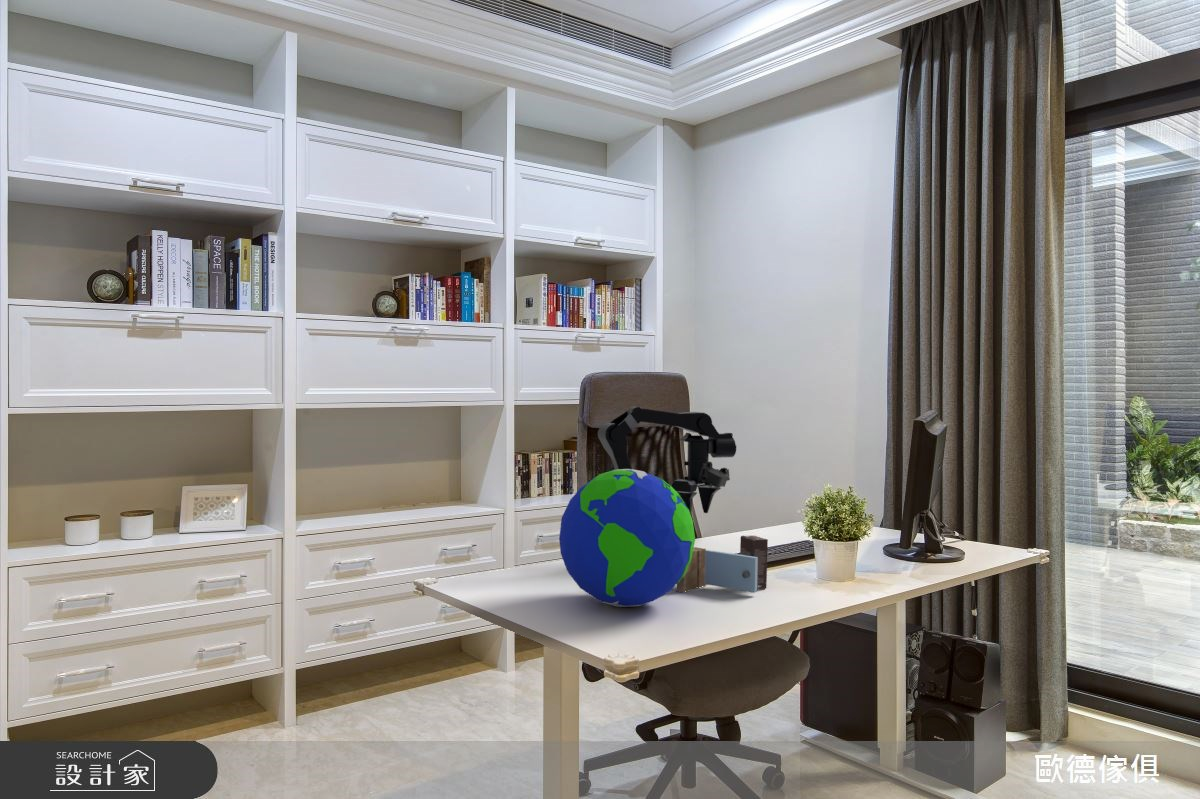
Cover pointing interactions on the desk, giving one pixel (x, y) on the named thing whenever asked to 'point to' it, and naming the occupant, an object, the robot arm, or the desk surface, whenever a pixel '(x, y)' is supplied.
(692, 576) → the doorframe
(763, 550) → the box
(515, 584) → the desk surface
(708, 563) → the door
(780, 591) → the desk surface
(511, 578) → the desk surface
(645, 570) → the globe
